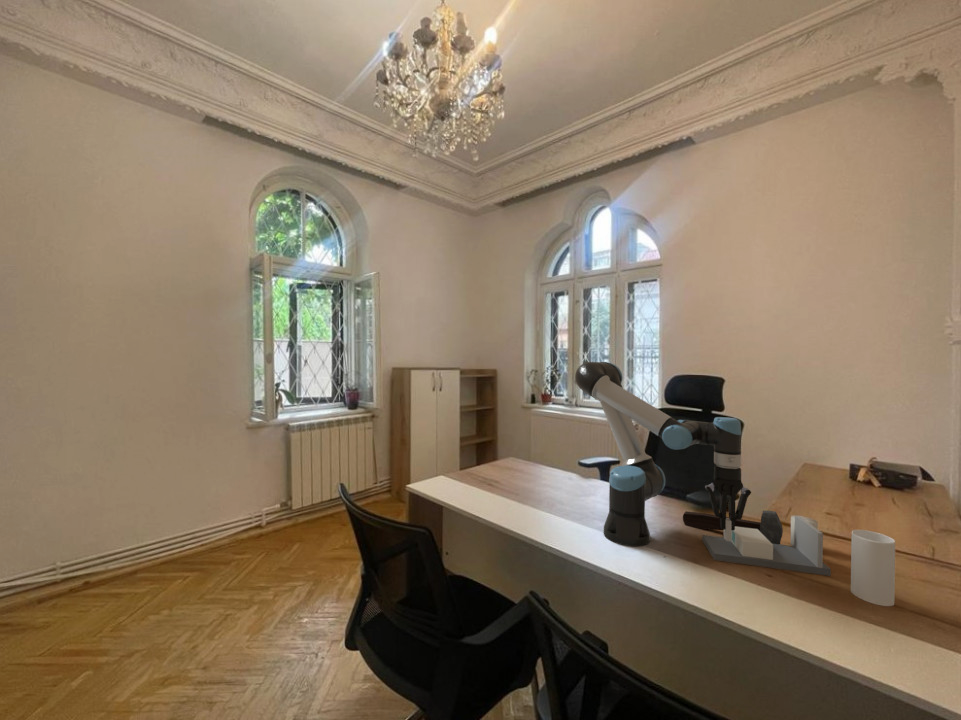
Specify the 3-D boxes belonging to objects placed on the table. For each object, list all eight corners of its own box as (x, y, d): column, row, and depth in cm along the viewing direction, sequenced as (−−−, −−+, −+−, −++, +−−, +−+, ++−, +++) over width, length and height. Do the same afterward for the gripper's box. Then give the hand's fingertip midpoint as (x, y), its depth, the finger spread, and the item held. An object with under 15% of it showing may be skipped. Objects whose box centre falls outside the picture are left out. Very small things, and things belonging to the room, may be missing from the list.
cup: (842, 588, 109) (843, 529, 109) (869, 587, 110) (870, 529, 110) (874, 606, 101) (875, 543, 101) (903, 605, 101) (904, 542, 102)
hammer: (684, 535, 149) (784, 550, 130) (680, 505, 150) (779, 514, 131) (687, 531, 153) (784, 545, 134) (683, 501, 154) (779, 510, 135)
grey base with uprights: (714, 559, 123) (714, 521, 124) (702, 540, 137) (702, 505, 137) (830, 576, 115) (831, 534, 115) (805, 553, 129) (806, 516, 129)
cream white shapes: (796, 549, 132) (797, 522, 132) (786, 540, 138) (787, 514, 138) (821, 552, 130) (822, 525, 130) (810, 543, 136) (811, 517, 136)
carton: (742, 555, 122) (742, 541, 122) (729, 539, 134) (729, 525, 134) (773, 559, 120) (773, 545, 120) (757, 542, 132) (757, 529, 132)
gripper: (707, 467, 127) (707, 541, 127) (755, 470, 123) (755, 547, 123) (702, 461, 134) (702, 532, 134) (746, 464, 131) (746, 537, 130)
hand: (727, 539), depth 128 cm, fingers closed
